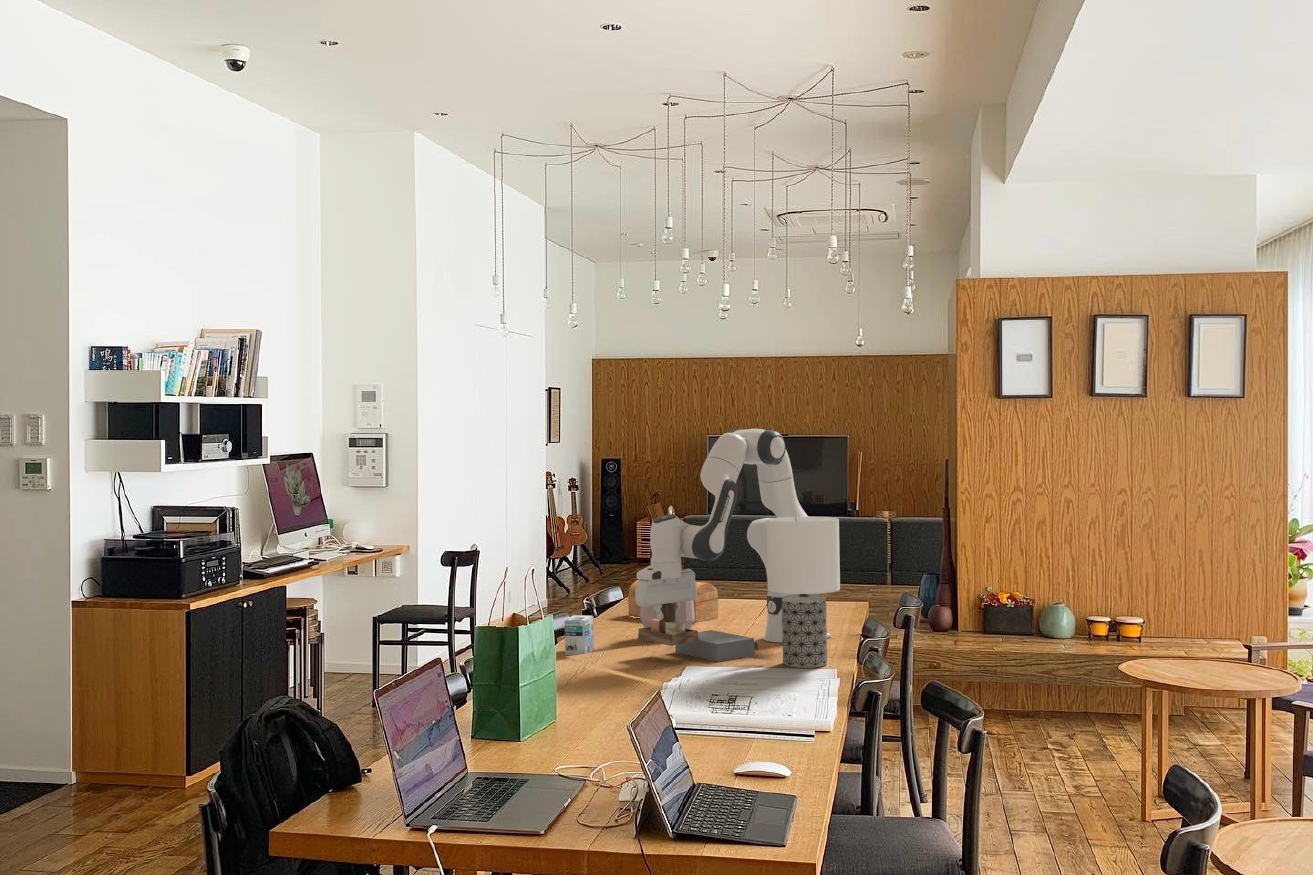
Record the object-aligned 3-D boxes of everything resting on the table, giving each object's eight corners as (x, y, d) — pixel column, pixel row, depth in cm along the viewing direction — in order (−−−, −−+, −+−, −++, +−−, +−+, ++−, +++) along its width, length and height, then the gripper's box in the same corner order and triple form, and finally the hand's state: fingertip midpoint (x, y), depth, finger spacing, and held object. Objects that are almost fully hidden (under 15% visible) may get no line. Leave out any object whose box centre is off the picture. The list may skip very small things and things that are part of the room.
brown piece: (665, 634, 352) (664, 599, 352) (698, 641, 339) (697, 604, 339) (638, 638, 346) (637, 602, 346) (670, 645, 333) (669, 608, 333)
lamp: (848, 669, 327) (846, 520, 327) (775, 672, 325) (772, 522, 325) (832, 656, 347) (830, 515, 347) (763, 658, 346) (761, 517, 346)
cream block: (676, 634, 342) (676, 620, 342) (685, 636, 339) (684, 622, 339) (665, 636, 340) (665, 622, 340) (674, 638, 337) (673, 624, 336)
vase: (673, 645, 370) (671, 550, 370) (629, 640, 380) (628, 548, 380) (705, 637, 384) (703, 546, 384) (662, 633, 394) (660, 544, 394)
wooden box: (720, 618, 426) (720, 580, 426) (694, 624, 412) (694, 585, 412) (654, 612, 444) (654, 575, 444) (627, 618, 430) (627, 580, 430)
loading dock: (714, 649, 363) (714, 629, 363) (757, 658, 347) (757, 637, 347) (675, 655, 354) (675, 635, 354) (717, 664, 338) (717, 643, 338)
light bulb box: (585, 655, 356) (585, 620, 356) (564, 655, 357) (563, 619, 357) (594, 649, 366) (593, 614, 366) (573, 649, 368) (573, 614, 368)
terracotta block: (661, 631, 348) (661, 618, 348) (669, 633, 345) (669, 619, 345) (650, 633, 346) (650, 619, 345) (658, 634, 342) (658, 621, 342)
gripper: (687, 567, 351) (689, 613, 351) (631, 573, 339) (633, 621, 339) (701, 568, 346) (702, 615, 346) (644, 575, 334) (645, 624, 334)
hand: (667, 618), depth 342 cm, fingers closed on brown piece, 3 cm apart
